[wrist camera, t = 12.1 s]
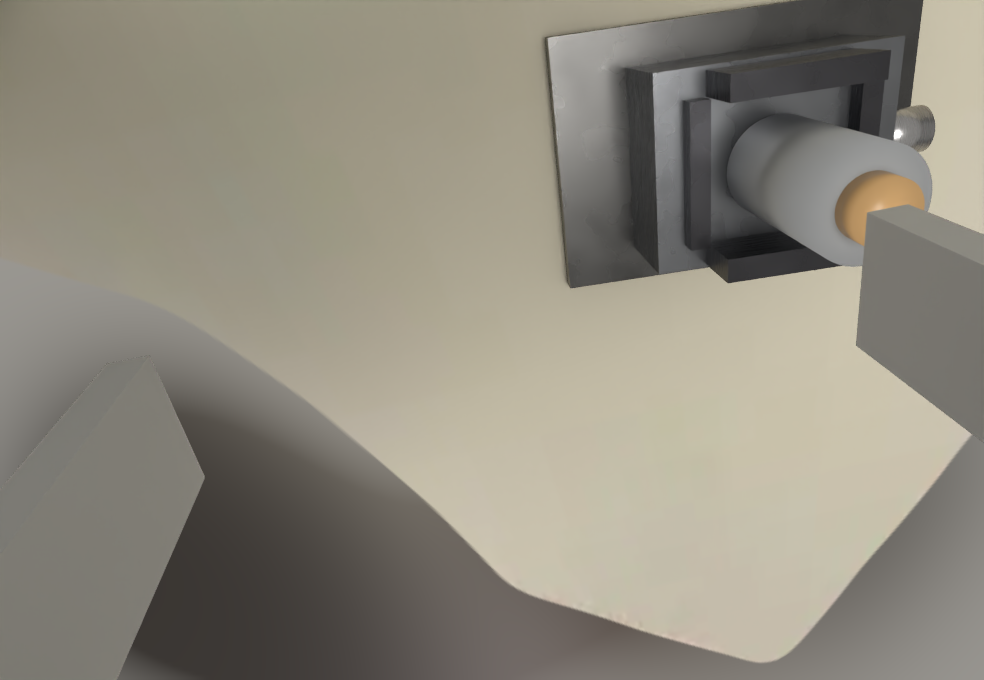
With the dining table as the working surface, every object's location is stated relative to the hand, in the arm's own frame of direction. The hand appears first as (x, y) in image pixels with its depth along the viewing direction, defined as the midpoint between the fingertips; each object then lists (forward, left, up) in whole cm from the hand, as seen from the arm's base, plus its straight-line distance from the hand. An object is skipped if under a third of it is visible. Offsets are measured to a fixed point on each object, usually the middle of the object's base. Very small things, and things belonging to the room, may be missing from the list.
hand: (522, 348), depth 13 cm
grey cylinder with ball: (+15, -3, -22) cm, 27 cm away
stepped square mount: (+15, -3, -28) cm, 32 cm away
